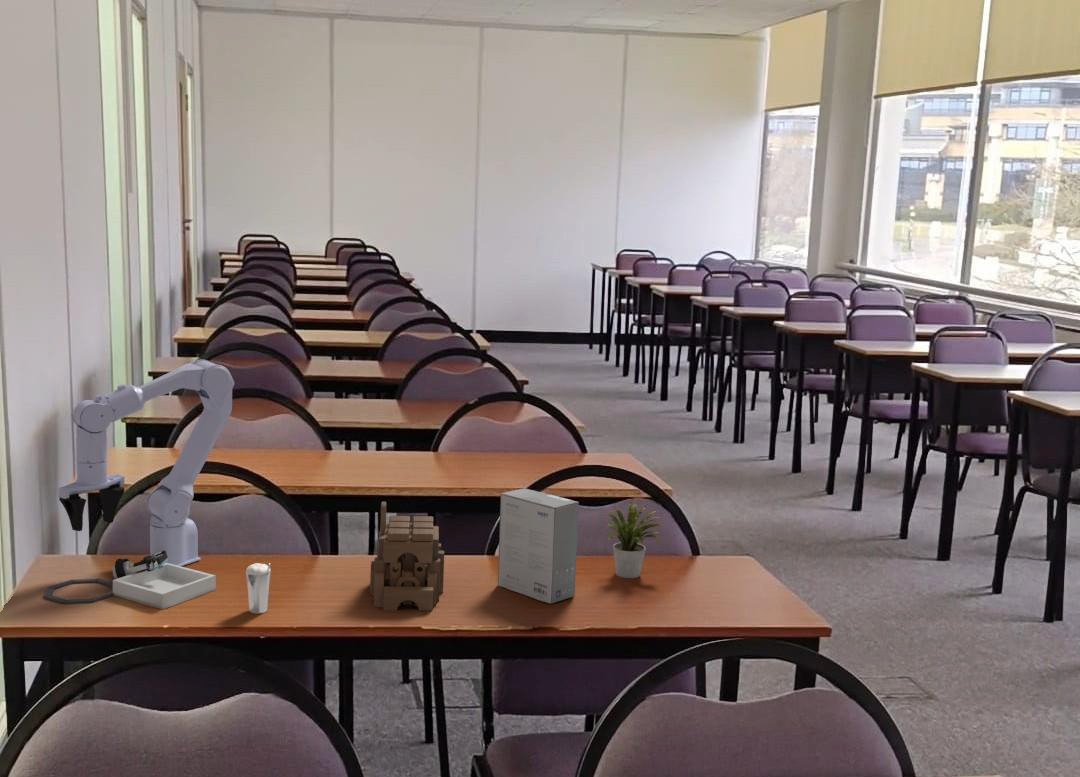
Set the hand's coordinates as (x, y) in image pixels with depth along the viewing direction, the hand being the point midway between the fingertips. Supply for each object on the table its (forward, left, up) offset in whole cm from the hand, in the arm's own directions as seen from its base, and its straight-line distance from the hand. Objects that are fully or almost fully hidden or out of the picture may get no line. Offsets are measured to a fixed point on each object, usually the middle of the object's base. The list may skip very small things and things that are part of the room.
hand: (92, 526), depth 231 cm
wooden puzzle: (-30, +57, -11) cm, 65 cm away
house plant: (-65, +89, -11) cm, 111 cm away
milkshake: (-4, +41, -11) cm, 43 cm away
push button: (-3, +17, -5) cm, 18 cm away
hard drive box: (-45, +78, -11) cm, 91 cm away
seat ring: (+8, +6, -10) cm, 14 cm away
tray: (-1, +19, -10) cm, 22 cm away
